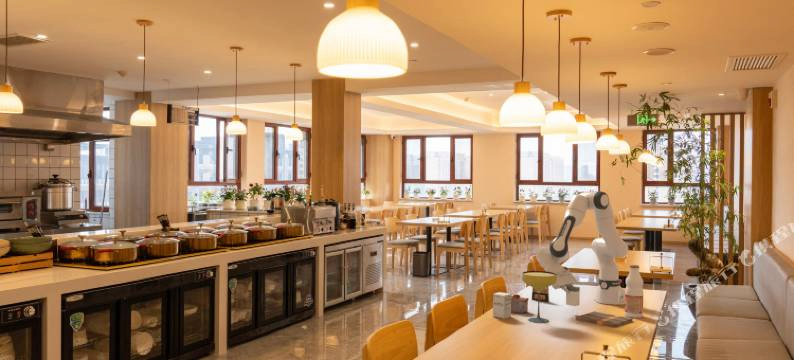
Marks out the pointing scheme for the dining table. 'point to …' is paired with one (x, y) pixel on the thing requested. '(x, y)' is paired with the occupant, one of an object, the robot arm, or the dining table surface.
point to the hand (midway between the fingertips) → (571, 292)
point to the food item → (519, 304)
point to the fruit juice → (634, 293)
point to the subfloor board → (604, 319)
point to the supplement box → (501, 305)
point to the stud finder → (573, 296)
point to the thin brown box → (541, 295)
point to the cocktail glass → (539, 286)
